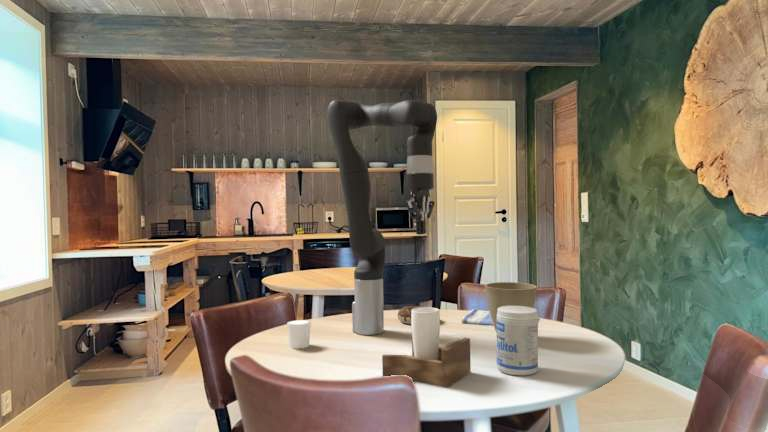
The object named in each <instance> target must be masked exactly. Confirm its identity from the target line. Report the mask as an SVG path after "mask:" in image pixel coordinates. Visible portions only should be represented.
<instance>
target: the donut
mask: <svg viewBox="0 0 768 432" xmlns="http://www.w3.org/2000/svg"><path fill="white" fill-rule="evenodd" d="M419 307H425V306H424V305H420V306H419V305H415V306H413V305H409V306H403V307H402V308H400V309H399V310H398V312H397V318H398V321H400V322H401V323H403V324H408V325H411V310H412V309H414V308H419Z"/></svg>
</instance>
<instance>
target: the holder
mask: <svg viewBox="0 0 768 432" xmlns="http://www.w3.org/2000/svg"><path fill="white" fill-rule="evenodd" d="M411 351H412V352H411V353H412V354H411V355H408V354H382V358H381V359H382V360H381V361H382V377H383V376H391V375H407V376H409V377H411V378H412V379H413V380H414V381H413V380H412V381H413V382H418V383H422V384H423V383H425V384H430V385H434V386H439V387H444V388H449V387H451V386H452V385H454V384H455V383H457V382H459V380H462V378H464V377H466V376H467V375H469V374H470V373H471V338H469V337H462V338H456V339H455V340H453V341H451V342H449V343H447V344H445V345H444V346H439V349H438V360H432V359H426V358H420V357H414V348H413V340H412V341H411Z"/></svg>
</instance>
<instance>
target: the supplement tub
mask: <svg viewBox="0 0 768 432" xmlns="http://www.w3.org/2000/svg"><path fill="white" fill-rule="evenodd" d="M538 317H539V315H538V310H537V309H536V308H535V307H534V308H531V307H526V306H502V307H499V308H498V309H497V333H496V367H497V369H498V370H499V371H500V372H502V373H504V374H507V375H509V376H510V375H512V376H520V377H521V376H525V377H526V376H531V375H534V374H535V373H536V372H537V371H538V369H539V368H538V367H539V365H538V364H539V363H538V362H539V359H538V358H539V357H538V356H539V350H538V349H539V318H538Z"/></svg>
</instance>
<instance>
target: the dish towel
mask: <svg viewBox="0 0 768 432" xmlns="http://www.w3.org/2000/svg"><path fill="white" fill-rule="evenodd" d="M461 323H462V324H465V325H466V324H467V325H469V324H470V325H477V324H478V325H479V326H489V325H491V326H492V327H494V324H493V321H492V318H491V314H490V310H482V309H481V310H480V309H479V310H478V309H475V308H473V309H471V310H469V312H467V313H466V314H465V315H463V317H462V318H461Z"/></svg>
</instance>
